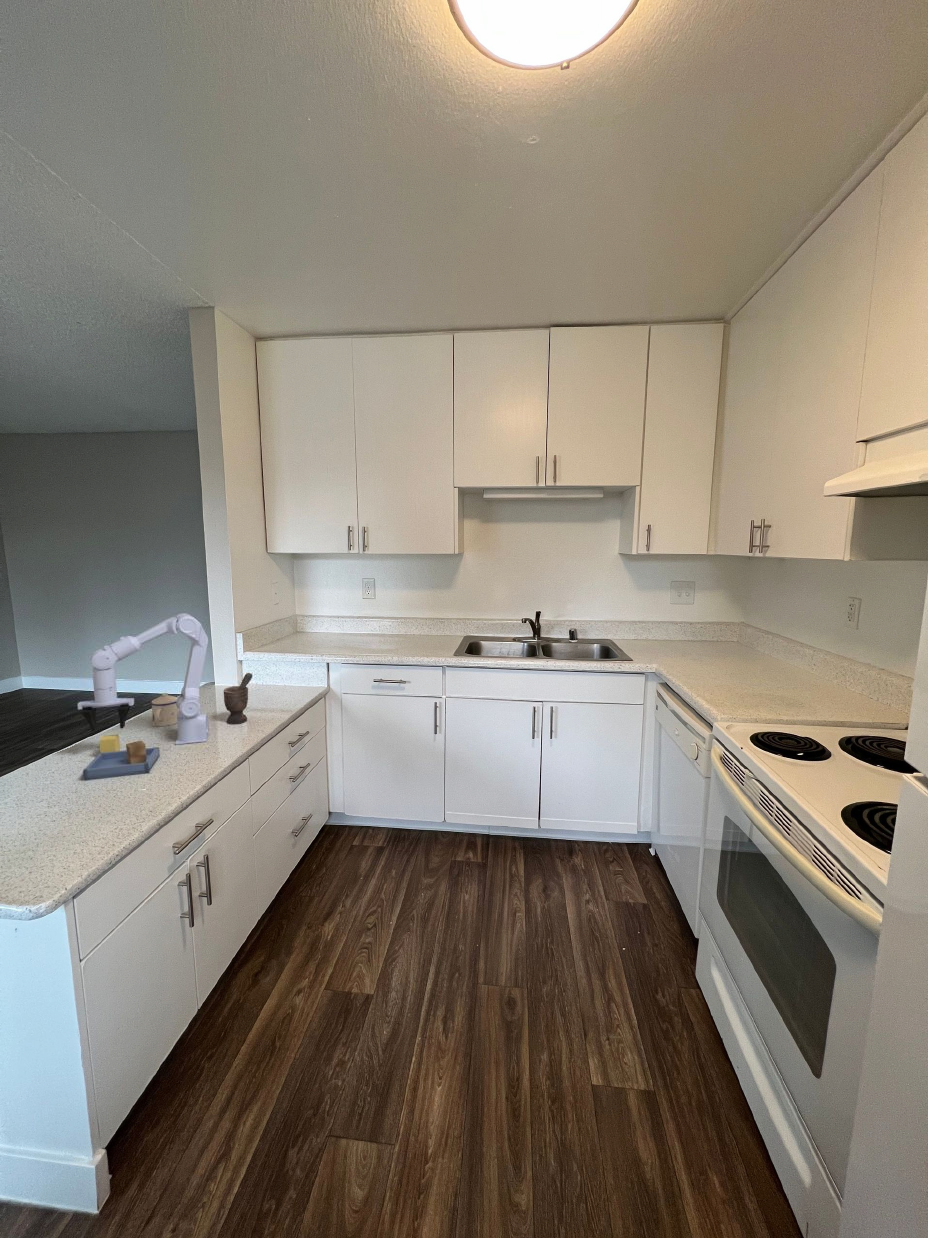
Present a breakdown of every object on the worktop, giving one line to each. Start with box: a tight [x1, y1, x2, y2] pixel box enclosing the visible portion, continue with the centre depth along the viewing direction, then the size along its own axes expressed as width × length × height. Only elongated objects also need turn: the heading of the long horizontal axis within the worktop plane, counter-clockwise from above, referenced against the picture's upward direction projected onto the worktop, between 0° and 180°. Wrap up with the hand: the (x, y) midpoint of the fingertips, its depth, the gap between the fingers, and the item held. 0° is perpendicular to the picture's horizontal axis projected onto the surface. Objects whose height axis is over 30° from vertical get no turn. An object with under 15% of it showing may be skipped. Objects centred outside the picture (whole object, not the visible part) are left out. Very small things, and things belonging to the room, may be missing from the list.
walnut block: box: [125, 740, 147, 764], centre depth 147 cm, size 4×4×6 cm
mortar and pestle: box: [223, 672, 253, 725], centre depth 187 cm, size 12×9×20 cm
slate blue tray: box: [82, 746, 161, 782], centre depth 146 cm, size 16×13×3 cm
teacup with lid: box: [150, 692, 180, 727], centre depth 183 cm, size 12×9×12 cm
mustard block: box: [99, 734, 121, 753], centre depth 155 cm, size 4×4×6 cm
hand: (108, 728), depth 154 cm, fingers open, 7 cm apart
